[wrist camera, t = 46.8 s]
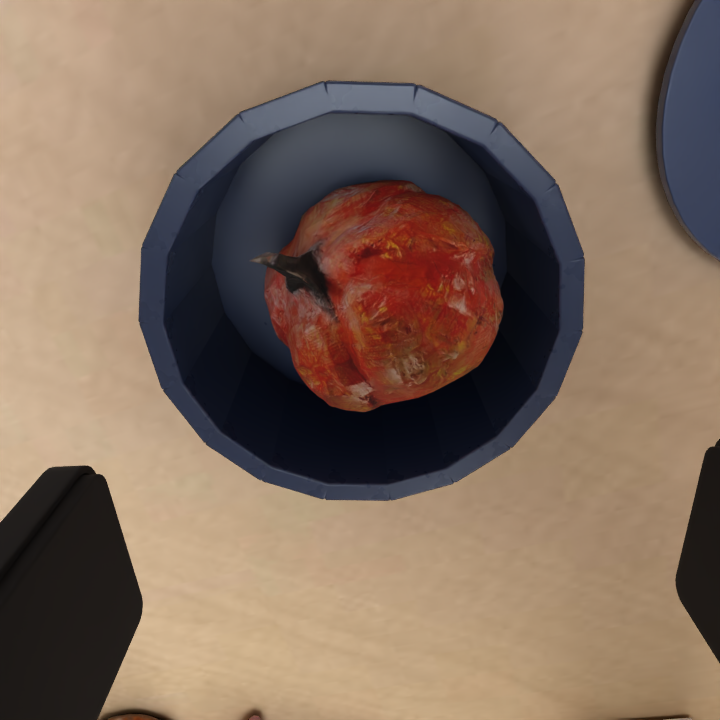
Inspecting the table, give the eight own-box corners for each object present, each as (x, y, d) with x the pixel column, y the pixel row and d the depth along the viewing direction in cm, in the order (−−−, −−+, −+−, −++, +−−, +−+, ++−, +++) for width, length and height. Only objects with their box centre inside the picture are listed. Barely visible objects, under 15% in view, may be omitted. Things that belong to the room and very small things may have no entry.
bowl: (549, 353, 23) (615, 440, 18) (270, 435, 25) (245, 541, 19) (481, 28, 18) (543, -3, 12) (137, 157, 20) (46, 184, 14)
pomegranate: (488, 215, 23) (341, 51, 15) (588, 360, 19) (465, 247, 11) (353, 321, 25) (168, 232, 18) (418, 465, 22) (223, 434, 14)
